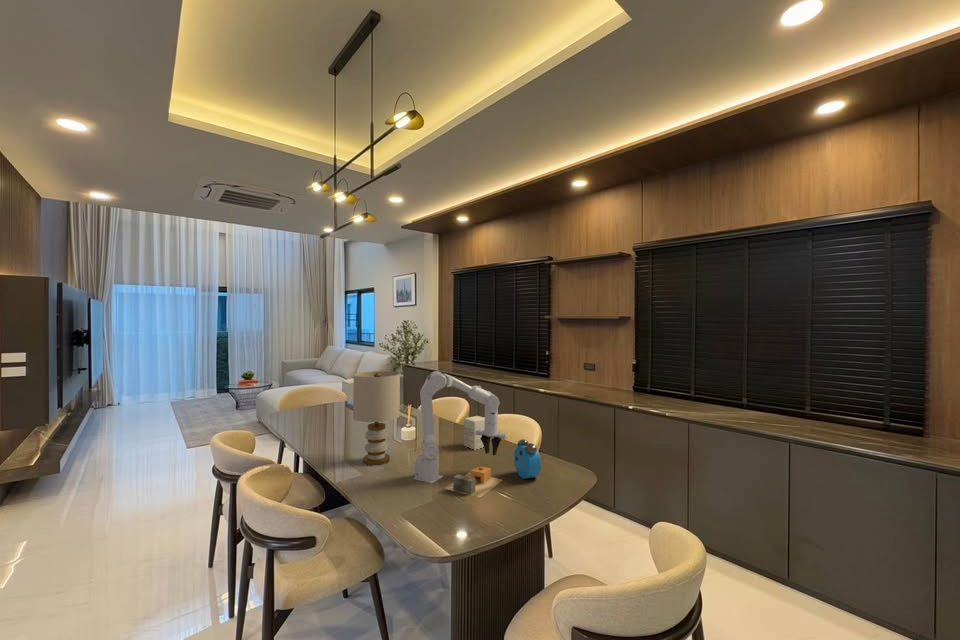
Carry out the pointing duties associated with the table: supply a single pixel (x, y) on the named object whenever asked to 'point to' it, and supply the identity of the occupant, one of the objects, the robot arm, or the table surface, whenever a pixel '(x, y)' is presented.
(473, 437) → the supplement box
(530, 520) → the table surface
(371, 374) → the lamp
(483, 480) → the lock
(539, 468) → the alarm clock
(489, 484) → the dock
